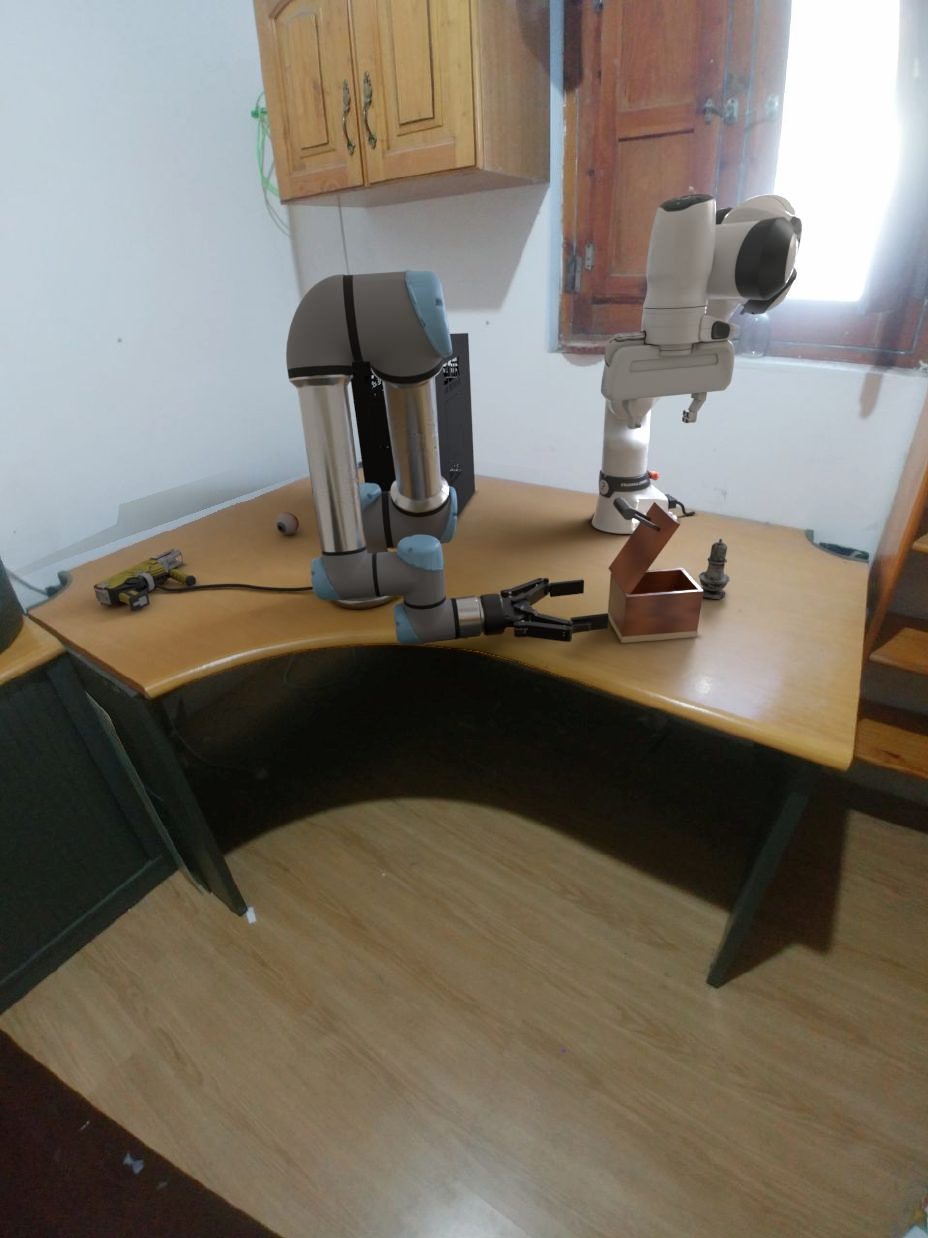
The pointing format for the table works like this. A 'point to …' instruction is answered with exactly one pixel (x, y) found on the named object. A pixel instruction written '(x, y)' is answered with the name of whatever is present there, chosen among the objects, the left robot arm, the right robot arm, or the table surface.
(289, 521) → the eyeball
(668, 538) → the lid
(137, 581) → the toy gun
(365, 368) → the cardboard box
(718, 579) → the grey chess piece
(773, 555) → the table surface
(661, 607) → the chest
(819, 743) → the table surface
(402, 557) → the left robot arm
